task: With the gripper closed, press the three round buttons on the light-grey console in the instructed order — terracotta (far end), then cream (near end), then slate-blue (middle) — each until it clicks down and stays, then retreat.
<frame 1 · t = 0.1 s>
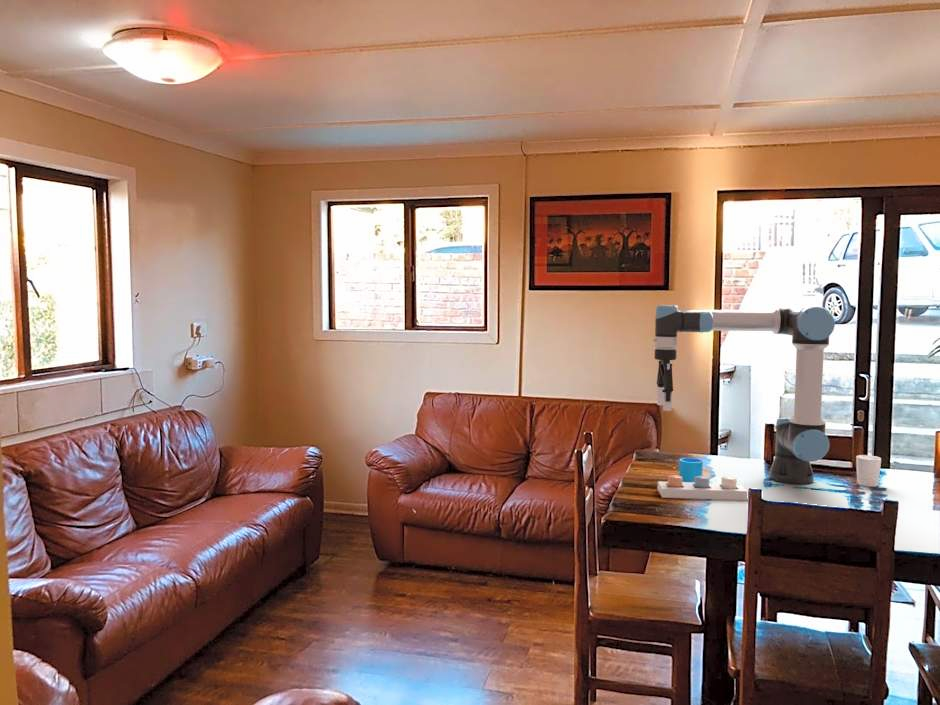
hand: (664, 407, 262), 28 cm above the table, fingers open, 13 cm apart
button cream: (728, 484, 250), point 4 cm above the table, slide at 0.0 cm
button panel: (701, 494, 251), on the table
button slate: (701, 483, 251), point 4 cm above the table, slide at 0.0 cm
white cup: (867, 485, 266), on the table
mug: (687, 481, 270), on the table
button terracotta: (674, 482, 252), point 4 cm above the table, slide at 0.0 cm
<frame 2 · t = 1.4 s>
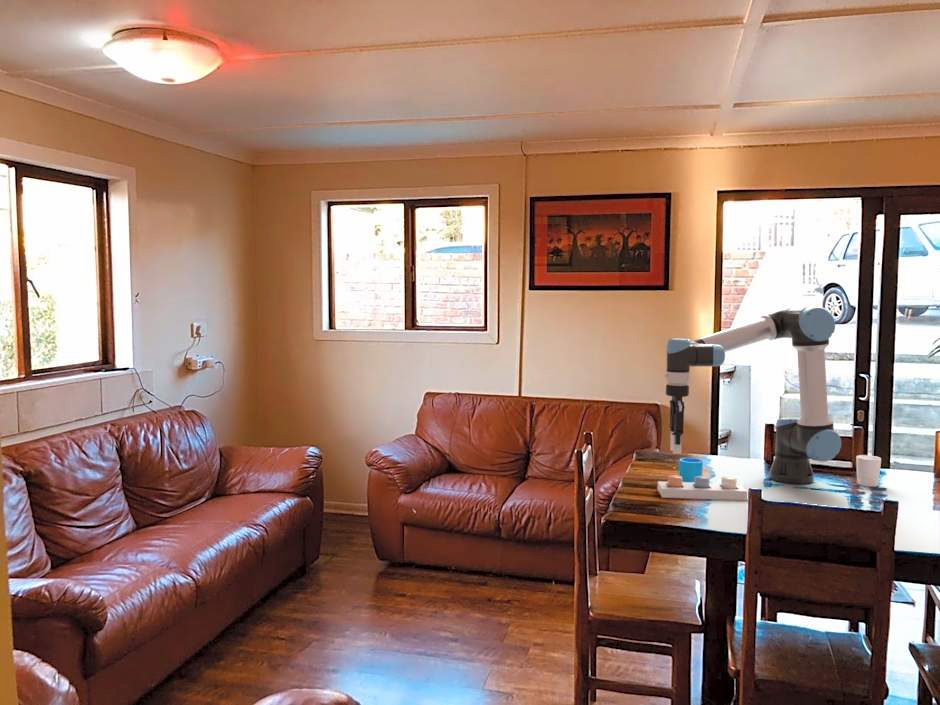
hand: (675, 451, 251), 15 cm above the table, fingers open, 4 cm apart
nothing on the table moved.
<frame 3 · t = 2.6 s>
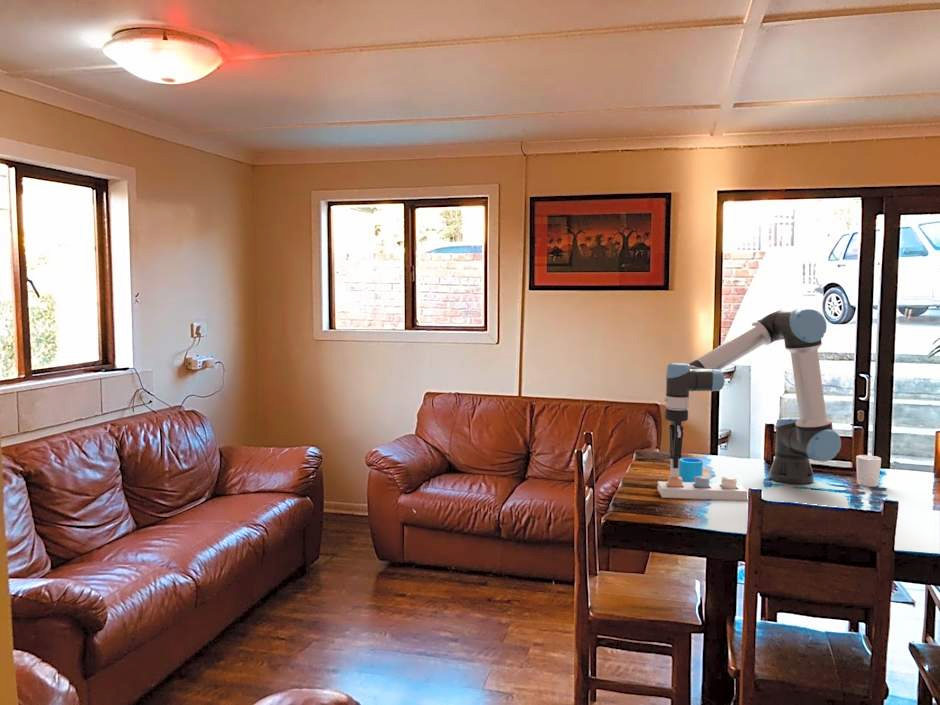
hand: (674, 476, 251), 6 cm above the table, fingers closed
button terracotta: (674, 483, 252), point 4 cm above the table, slide at -0.3 cm, touching gripper
everything else where it was.
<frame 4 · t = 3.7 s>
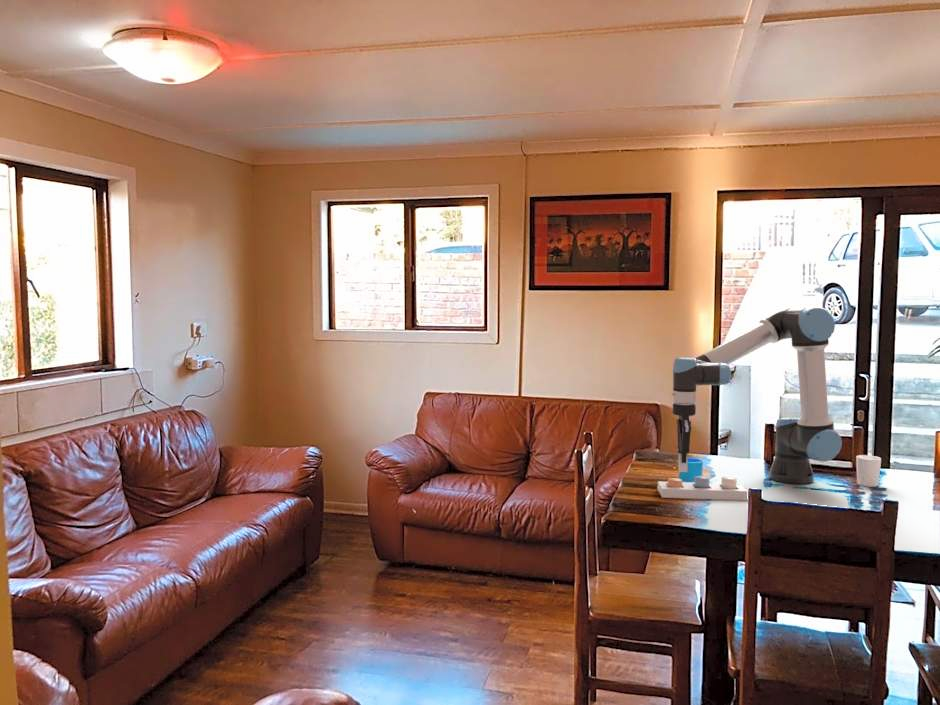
hand: (682, 471, 251), 8 cm above the table, fingers closed
button terracotta: (674, 485, 252), point 3 cm above the table, slide at -1.0 cm
everything else where it was.
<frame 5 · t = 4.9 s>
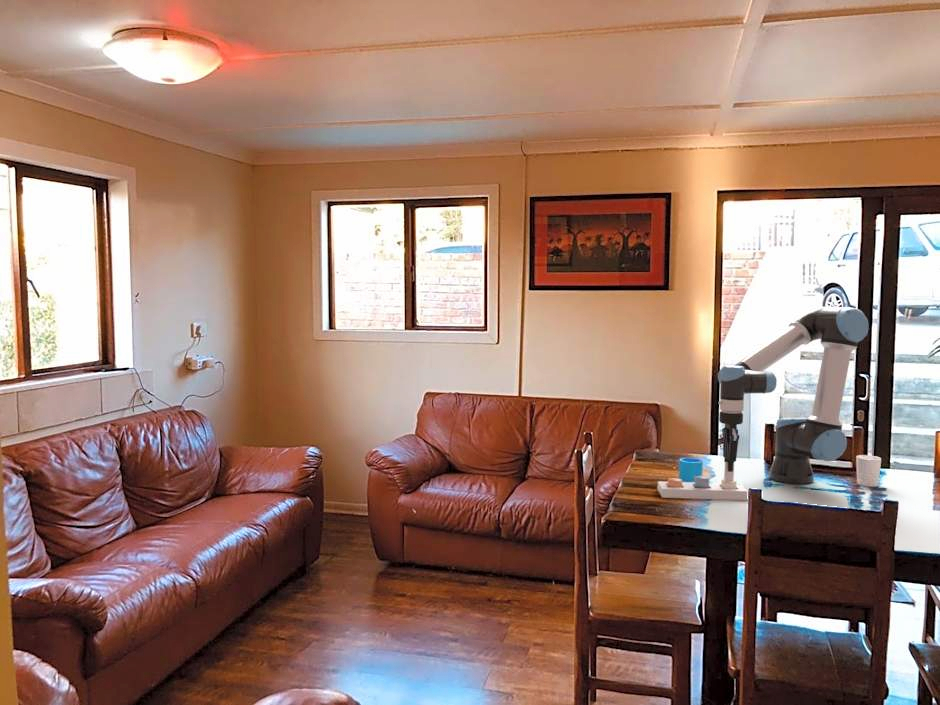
hand: (728, 480, 250), 5 cm above the table, fingers closed
button cream: (728, 486, 250), point 3 cm above the table, slide at -0.9 cm
everything else where it was.
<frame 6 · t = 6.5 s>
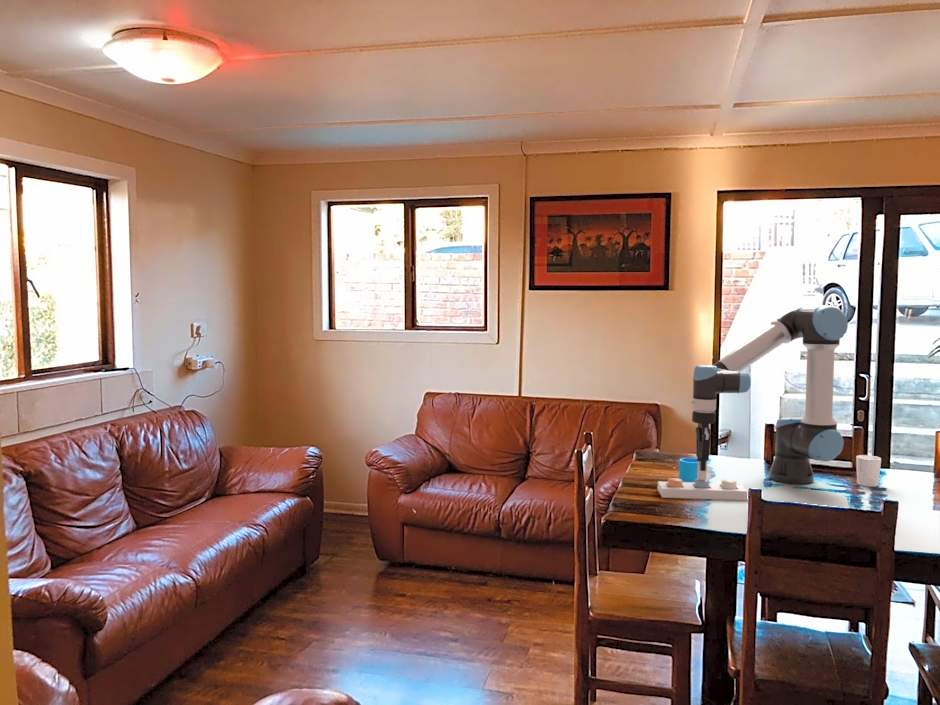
hand: (701, 479, 251), 5 cm above the table, fingers closed
button slate: (701, 485, 251), point 3 cm above the table, slide at -0.9 cm, touching gripper
everything else where it was.
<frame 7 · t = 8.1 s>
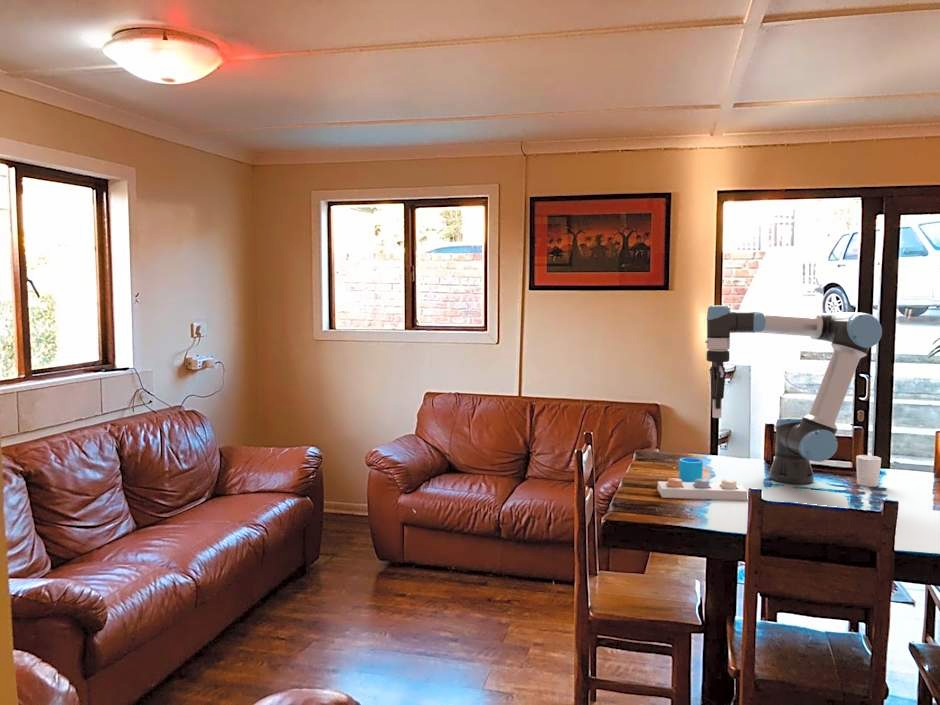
hand: (716, 417, 256), 26 cm above the table, fingers closed
button slate: (701, 486, 251), point 3 cm above the table, slide at -1.0 cm
everything else where it was.
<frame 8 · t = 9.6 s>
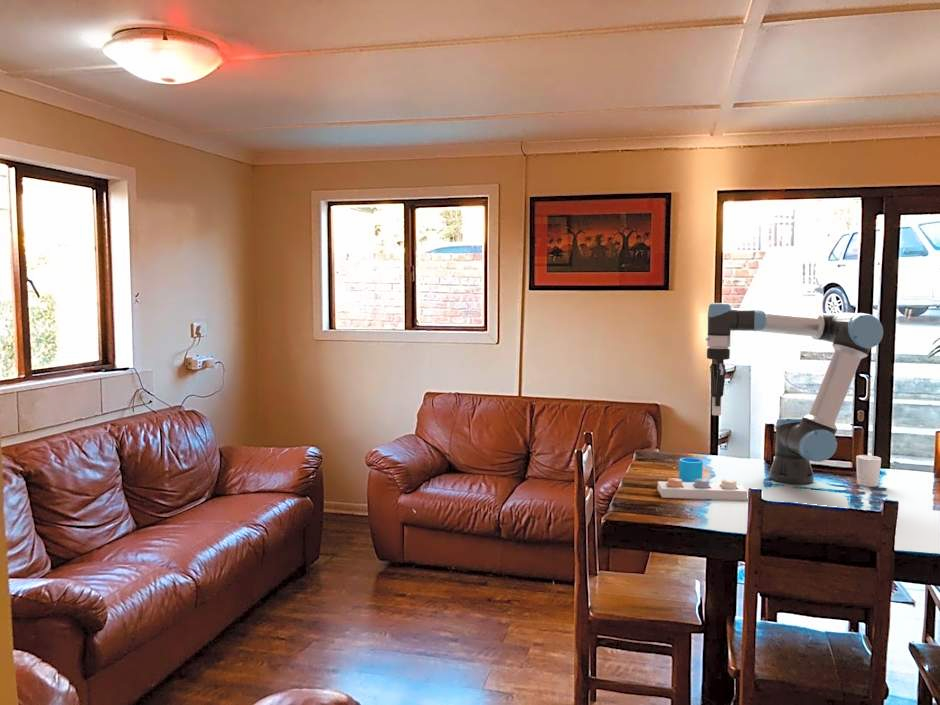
hand: (716, 414, 256), 26 cm above the table, fingers closed
nothing on the table moved.
at the end: button terracotta slide at -1.0 cm; button cream slide at -1.0 cm; button slate slide at -1.0 cm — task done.
